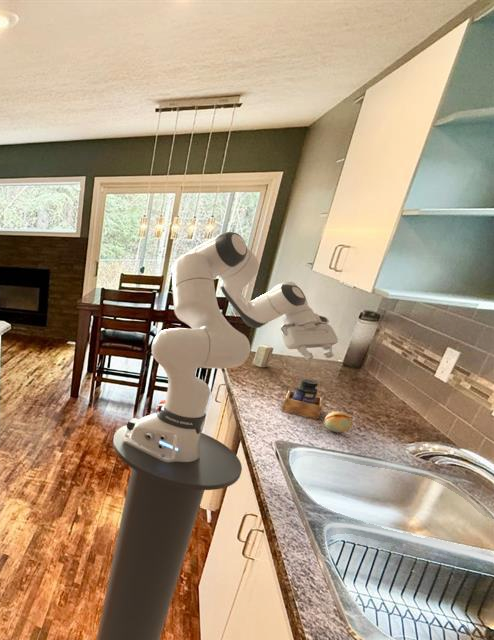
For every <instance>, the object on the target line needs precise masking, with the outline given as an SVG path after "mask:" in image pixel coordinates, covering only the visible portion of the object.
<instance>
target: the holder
mask: <svg viewBox="0 0 494 640" xmlns="http://www.w3.org/2000/svg"><path fill="white" fill-rule="evenodd" d="M294 393H295V390H289V389H288V391H287V393H286V396H285V399H284V402H283V405H282V408H281V411H282V412H285V413H289V414H293V415H297V416H301V417H305V418H308V419H313V420H317V421H318V419H319V417H320V414H321V412H322V409H323V407H324V406H323V405H324V397H321V396H317V395H316V397H315V399H314V402H313V404H310V403H306V402H302V401H298V400H294V399H292V398H293V396H294Z"/></svg>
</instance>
